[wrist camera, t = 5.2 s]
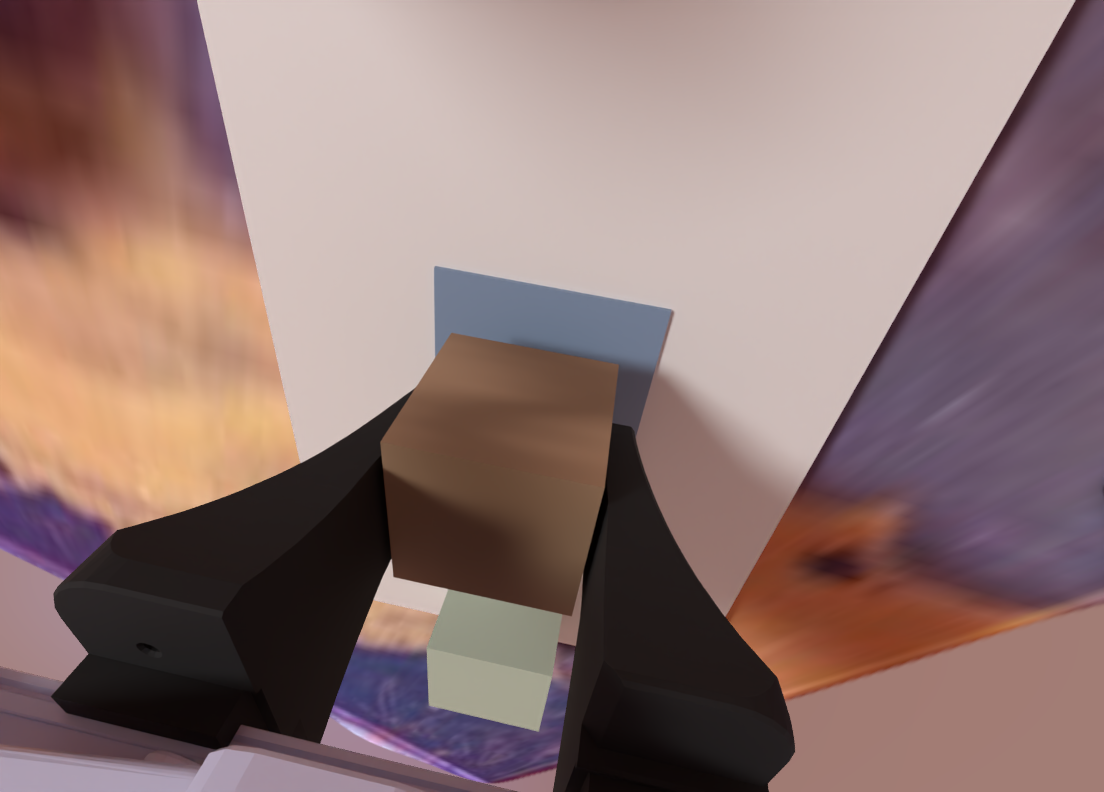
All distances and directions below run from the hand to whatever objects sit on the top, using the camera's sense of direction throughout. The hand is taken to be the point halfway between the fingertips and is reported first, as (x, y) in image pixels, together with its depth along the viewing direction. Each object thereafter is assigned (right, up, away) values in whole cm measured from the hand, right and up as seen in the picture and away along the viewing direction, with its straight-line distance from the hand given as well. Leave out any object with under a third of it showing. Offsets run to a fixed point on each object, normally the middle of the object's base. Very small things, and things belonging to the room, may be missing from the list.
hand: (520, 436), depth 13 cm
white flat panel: (+1, +2, +3) cm, 3 cm away
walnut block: (0, 0, 0) cm, 1 cm away
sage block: (-1, -7, +8) cm, 10 cm away
